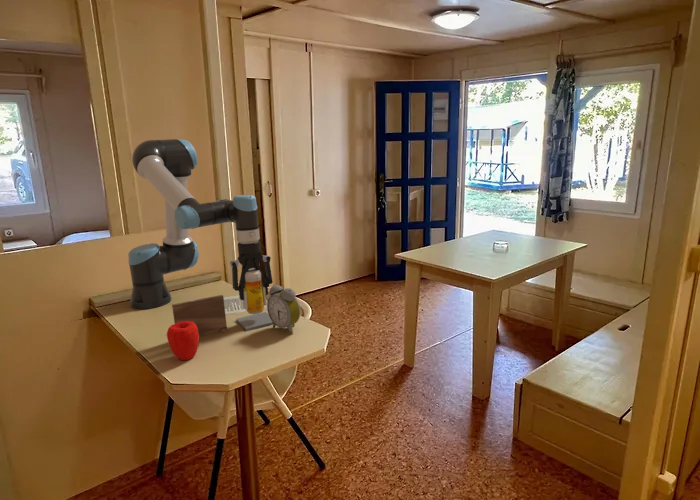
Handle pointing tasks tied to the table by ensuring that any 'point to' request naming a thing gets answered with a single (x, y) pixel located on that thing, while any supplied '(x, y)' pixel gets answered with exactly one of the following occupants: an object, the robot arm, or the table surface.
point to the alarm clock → (283, 307)
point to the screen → (203, 314)
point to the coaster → (255, 321)
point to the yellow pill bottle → (254, 291)
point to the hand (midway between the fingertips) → (255, 306)
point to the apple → (183, 339)
